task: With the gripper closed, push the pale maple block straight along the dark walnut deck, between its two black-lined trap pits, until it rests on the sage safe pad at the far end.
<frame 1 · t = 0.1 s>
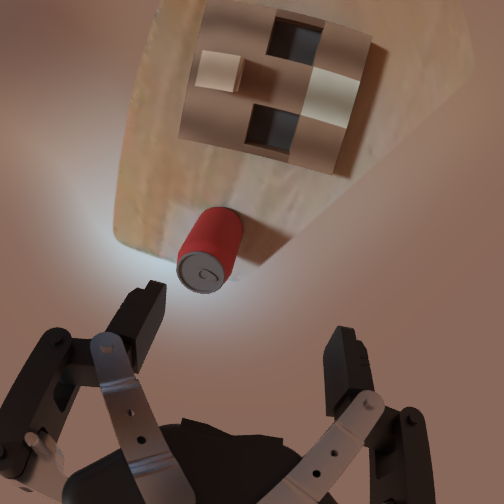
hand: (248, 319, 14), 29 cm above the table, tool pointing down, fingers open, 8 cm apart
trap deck: (273, 82, 34), on the table
beer can: (220, 226, 45), on the table
maple block: (224, 72, 31), point 3 cm above the table, touching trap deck
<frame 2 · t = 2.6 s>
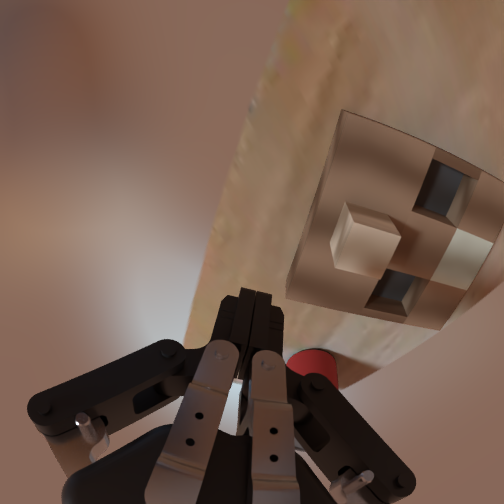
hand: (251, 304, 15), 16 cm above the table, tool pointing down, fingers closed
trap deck: (401, 229, 29), on the table
beer can: (310, 361, 40), on the table
maple block: (358, 228, 26), point 3 cm above the table, touching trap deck
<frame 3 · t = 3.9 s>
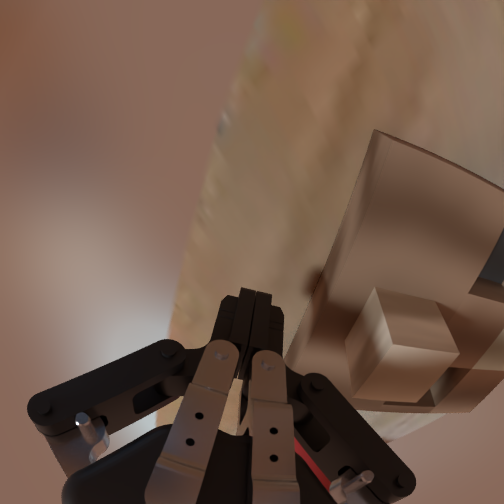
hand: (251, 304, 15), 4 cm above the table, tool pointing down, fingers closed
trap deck: (443, 305, 19), on the table
beer can: (310, 439, 30), on the table
maple block: (390, 321, 16), point 3 cm above the table, touching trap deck
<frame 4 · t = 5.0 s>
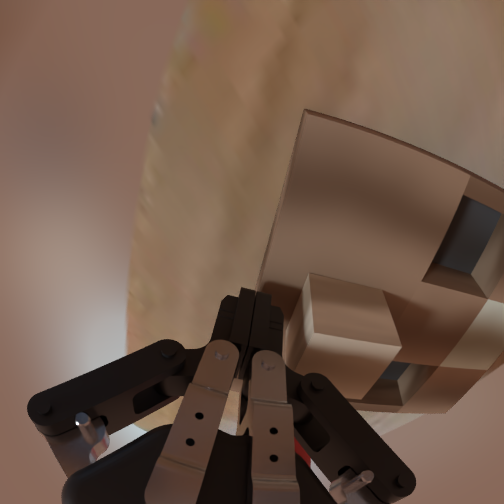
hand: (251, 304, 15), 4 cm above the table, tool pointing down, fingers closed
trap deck: (404, 296, 19), on the table
maple block: (332, 311, 16), point 3 cm above the table, touching gripper, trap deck
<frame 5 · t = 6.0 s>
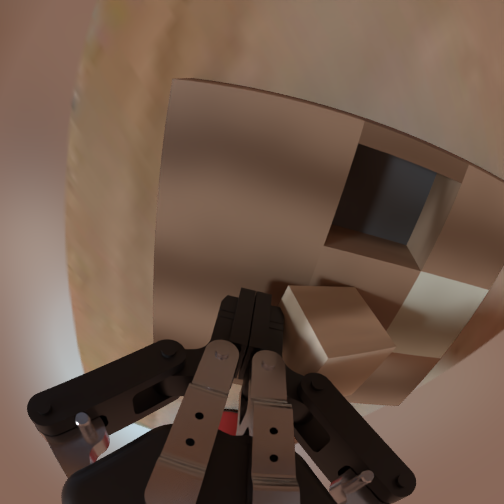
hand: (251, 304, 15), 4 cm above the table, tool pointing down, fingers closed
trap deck: (327, 269, 19), on the table
beer can: (231, 421, 30), on the table
maple block: (307, 315, 16), point 4 cm above the table, tilted 25°, touching gripper
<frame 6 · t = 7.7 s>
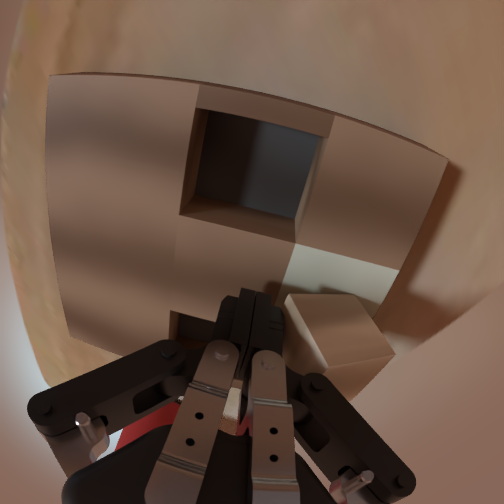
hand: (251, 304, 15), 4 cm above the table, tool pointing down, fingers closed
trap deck: (213, 245, 18), on the table
beer can: (165, 407, 29), on the table
maple block: (306, 322, 16), point 4 cm above the table, tilted 25°, touching gripper
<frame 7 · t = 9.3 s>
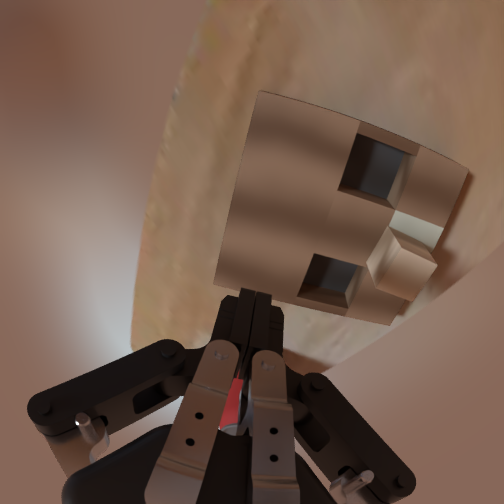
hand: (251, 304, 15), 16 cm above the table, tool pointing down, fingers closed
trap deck: (336, 214, 29), on the table
beer can: (256, 355, 39), on the table
maple block: (394, 252, 27), point 3 cm above the table, touching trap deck
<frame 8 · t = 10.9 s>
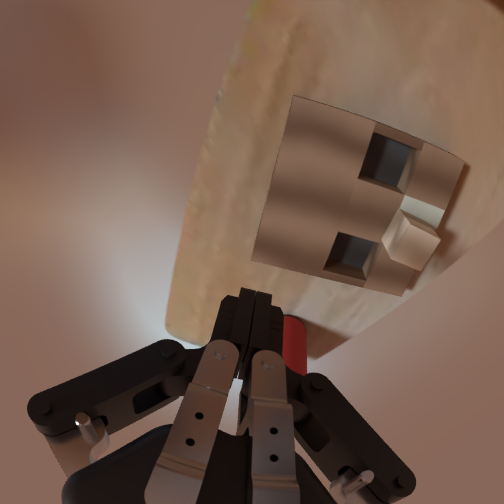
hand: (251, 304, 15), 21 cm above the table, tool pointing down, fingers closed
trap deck: (355, 199, 33), on the table
beer can: (283, 329, 44), on the table
maple block: (404, 230, 31), point 3 cm above the table, touching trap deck
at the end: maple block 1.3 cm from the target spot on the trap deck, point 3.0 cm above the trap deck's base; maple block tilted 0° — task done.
